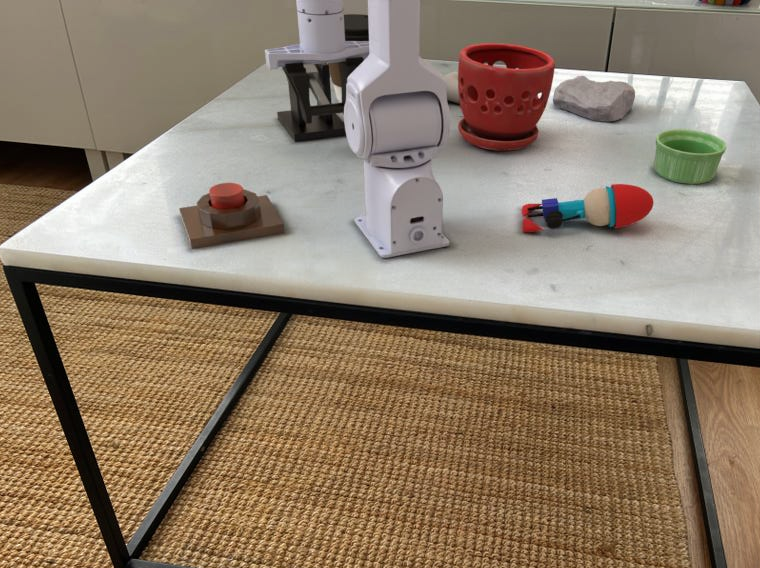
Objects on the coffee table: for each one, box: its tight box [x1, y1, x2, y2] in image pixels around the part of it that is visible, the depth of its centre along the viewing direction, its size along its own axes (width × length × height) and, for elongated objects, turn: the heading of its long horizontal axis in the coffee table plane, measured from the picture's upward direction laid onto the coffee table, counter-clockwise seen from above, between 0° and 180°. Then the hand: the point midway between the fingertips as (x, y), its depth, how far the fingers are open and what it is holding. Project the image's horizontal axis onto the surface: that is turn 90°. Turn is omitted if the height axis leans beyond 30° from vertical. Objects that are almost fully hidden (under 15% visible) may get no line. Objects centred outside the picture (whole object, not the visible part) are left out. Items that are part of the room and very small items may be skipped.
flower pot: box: [457, 42, 556, 152], centre depth 101 cm, size 13×13×12 cm
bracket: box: [276, 63, 347, 143], centre depth 103 cm, size 10×8×9 cm
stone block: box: [552, 75, 636, 123], centre depth 116 cm, size 12×5×10 cm
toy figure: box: [521, 183, 655, 233], centre depth 83 cm, size 8×5×15 cm
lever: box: [304, 64, 345, 116], centre depth 99 cm, size 11×5×2 cm, turn 24°
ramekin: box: [653, 128, 727, 185], centre depth 96 cm, size 9×9×4 cm
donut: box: [443, 70, 460, 105], centre depth 118 cm, size 10×4×10 cm
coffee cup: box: [327, 13, 369, 103], centre depth 112 cm, size 11×11×12 cm
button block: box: [178, 188, 286, 250], centre depth 80 cm, size 10×8×3 cm
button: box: [208, 182, 245, 210], centre depth 79 cm, size 4×4×2 cm
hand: (327, 118), depth 98 cm, fingers closed on lever, 5 cm apart
